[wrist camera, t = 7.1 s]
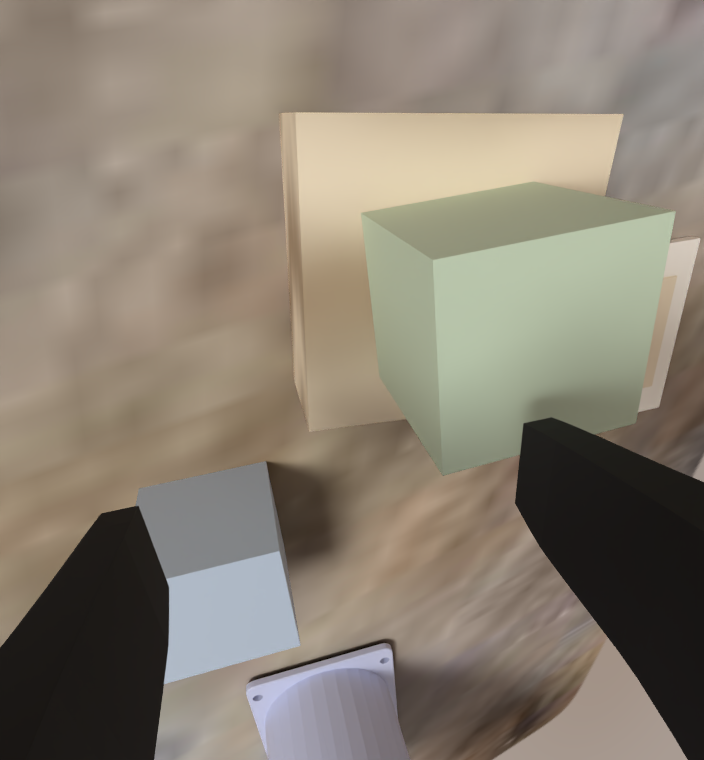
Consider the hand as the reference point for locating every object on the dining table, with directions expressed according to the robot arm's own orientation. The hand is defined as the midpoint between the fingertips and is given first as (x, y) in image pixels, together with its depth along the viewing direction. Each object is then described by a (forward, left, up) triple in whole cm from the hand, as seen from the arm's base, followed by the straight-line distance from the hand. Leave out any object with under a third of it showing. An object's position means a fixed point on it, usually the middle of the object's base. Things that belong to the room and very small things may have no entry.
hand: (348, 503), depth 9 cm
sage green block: (+2, -5, -6) cm, 8 cm away
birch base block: (+2, -5, -10) cm, 12 cm away
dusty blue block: (-8, +4, -10) cm, 14 cm away
